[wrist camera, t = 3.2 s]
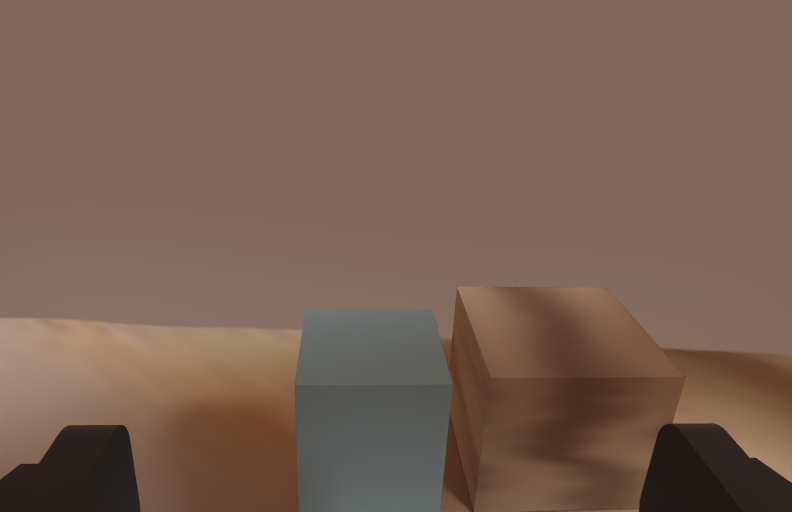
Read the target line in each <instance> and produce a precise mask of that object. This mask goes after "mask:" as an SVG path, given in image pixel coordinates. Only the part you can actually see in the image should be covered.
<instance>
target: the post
mask: <svg viewBox="0 0 792 512" xmlns="http://www.w3.org/2000/svg"><path fill="white" fill-rule="evenodd" d="M452 387H453V384H452V380H451V376H450V372H449V369H448V365H447V361H446V357H445V354H444V350H443V346H442V342H441V339H440V335H439V331H438V327H437V324H436V320H435V316H434V313H433V309H305V316H304V323H303V330H302V338H301V345H300V352H299V359H298V366H297V374H296V381H295V408H296V445H297V482H298V512H440V508H441V498H442V488H443V478H444V468H445V458H446V448H447V438H448V427H449V417H450V407H451V397H452Z"/></svg>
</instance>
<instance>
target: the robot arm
mask: <svg viewBox="0 0 792 512" xmlns="http://www.w3.org/2000/svg"><path fill="white" fill-rule="evenodd" d="M0 512H140V502H139V496H138V489H137V482H136V476H135V469H134V463H133V456H132V450H131V443H130V437H129V433H128V430H127V428H126V427H125V426H123V425H70V426H67V427H65V428H64V429H63V430H62V431H61V432H60V433H59V434H58V436H57V437H56V439H55V440H54V442H53V443H52V445H51V446H50V448H49V449H48V451H47V452H46V454H45V455H44V457H43V458H42V460H41V461H40V463H39V464H20V465H19V466H17V467H16V468H15V469H14V470H12V471H11V472H10V473H8V474H7V475H6V476H5V477H3V478H2V479H1V480H0ZM639 512H792V483H791V482H790V481H788V480H787V479H785V478H784V477H782V476H781V475H779V474H778V473H777V472H775V471H774V470H772V469H771V468H769V467H768V466H767V465H765V464H764V463H762V462H761V461H759V460H758V459H757V458H749V457H748V456H747V454H746V453H745V452H744V451H743V450H742V449H741V448H740V446H739V445H738V444H737V443H736V442H735V441H734V440H733V438H732V437H731V436H730V435H729V434H728V433H727V431H726V430H724V429H723V428H722V427H721V426H719V425H717V424H712V423H709V424H665V425H664V426H662V427H661V429H660V430H659V432H658V435H657V438H656V442H655V445H654V449H653V453H652V456H651V460H650V464H649V467H648V471H647V474H646V478H645V482H644V485H643V489H642V492H641V496H640V502H639Z"/></svg>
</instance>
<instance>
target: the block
mask: <svg viewBox="0 0 792 512" xmlns="http://www.w3.org/2000/svg"><path fill="white" fill-rule="evenodd" d="M449 372H450V376H451V380H452V384H453V387H452V397H451V407H450V417H451V421H452V425H453V429H454V434H455V438H456V442H457V446H458V450H459V454H460V459H461V463H462V467H463V471H464V475H465V479H466V483H467V488H468V492H469V496H470V500H471V504H472V508H473V512H525V511H565V510H605V509H639V502H640V496H641V492H642V489H643V485H644V482H645V478H646V474H647V471H648V467H649V464H650V460H651V456H652V453H653V449H654V445H655V442H656V438H657V435H658V432H659V430H660V429H661V427H662V426H664V425H665V424H672V423H673V419H674V415H675V412H676V408H677V405H678V401H679V398H680V394H681V391H682V387H683V384H684V380H685V376H684V375H683V373H682V372H681V371H680V370H679V369H678V368H677V367H676V365H675V364H674V363H673V362H672V361H671V360H670V359H669V357H668V356H667V355H666V354H665V353H664V352H663V351H662V349H661V348H660V347H659V346H658V345H657V344H656V343H655V342H654V340H653V339H652V338H651V337H650V336H649V335H648V334H647V333H646V331H645V330H644V329H643V328H642V327H641V326H640V325H639V323H638V322H637V321H636V320H635V319H634V318H633V317H632V315H631V314H630V313H629V312H628V311H627V310H626V309H625V308H624V306H623V305H622V304H621V303H620V302H619V301H618V300H617V298H616V297H615V296H614V295H613V294H612V293H611V291H610V290H609V289H608V288H555V287H549V288H548V287H547V288H546V287H543V288H542V287H457V294H456V304H455V315H454V325H453V336H452V346H451V357H450V368H449Z"/></svg>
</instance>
